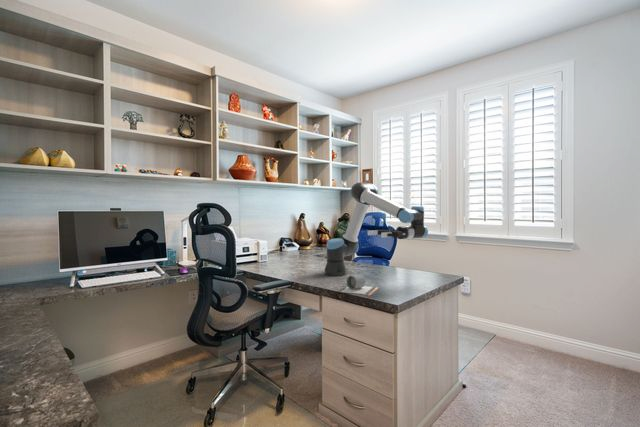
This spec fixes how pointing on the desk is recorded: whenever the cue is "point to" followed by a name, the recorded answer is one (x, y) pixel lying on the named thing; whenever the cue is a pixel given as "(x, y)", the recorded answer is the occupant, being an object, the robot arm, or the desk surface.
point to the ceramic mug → (355, 282)
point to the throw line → (373, 291)
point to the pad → (358, 290)
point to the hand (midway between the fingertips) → (374, 234)
